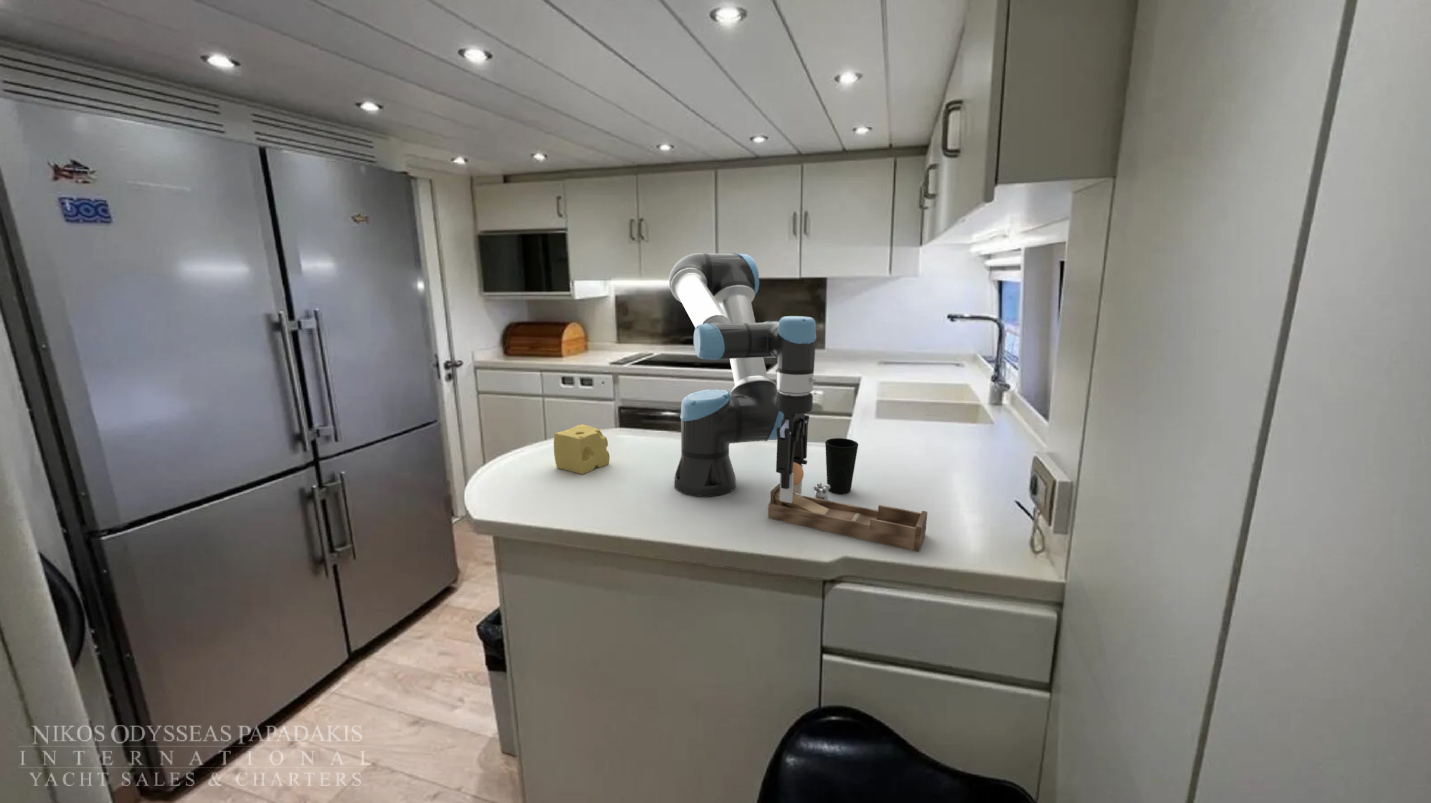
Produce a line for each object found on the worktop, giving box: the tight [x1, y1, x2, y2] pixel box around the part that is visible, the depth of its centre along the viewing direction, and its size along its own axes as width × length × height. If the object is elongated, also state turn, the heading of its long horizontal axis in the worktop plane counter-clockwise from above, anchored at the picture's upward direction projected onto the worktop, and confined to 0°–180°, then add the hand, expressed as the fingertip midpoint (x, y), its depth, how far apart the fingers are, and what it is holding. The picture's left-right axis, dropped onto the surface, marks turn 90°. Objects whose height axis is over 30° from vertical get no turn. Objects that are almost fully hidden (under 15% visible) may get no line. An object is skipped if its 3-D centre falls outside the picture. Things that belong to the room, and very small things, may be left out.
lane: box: [767, 482, 928, 553], centre depth 116 cm, size 31×8×6 cm, turn 62°
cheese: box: [553, 423, 610, 475], centre depth 151 cm, size 10×11×10 cm
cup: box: [824, 437, 859, 495], centre depth 135 cm, size 8×8×12 cm
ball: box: [792, 462, 805, 485], centre depth 120 cm, size 5×5×5 cm
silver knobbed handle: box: [813, 482, 830, 501], centre depth 127 cm, size 5×5×5 cm
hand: (790, 496), depth 122 cm, fingers closed on ball, 5 cm apart
